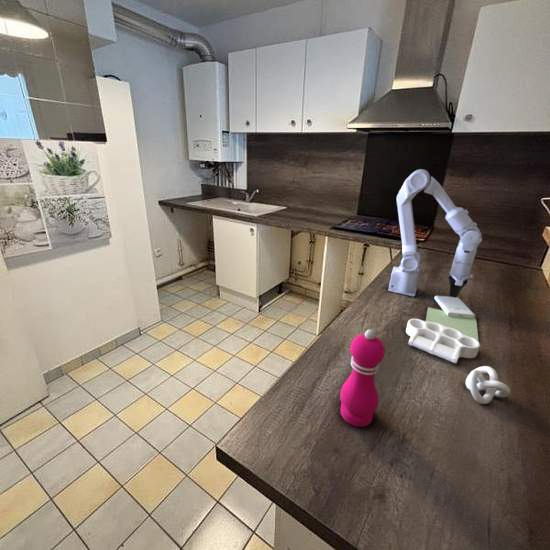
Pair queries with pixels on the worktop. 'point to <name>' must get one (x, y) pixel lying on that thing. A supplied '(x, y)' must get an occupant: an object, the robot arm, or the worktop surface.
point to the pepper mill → (362, 380)
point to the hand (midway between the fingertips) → (453, 296)
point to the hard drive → (454, 307)
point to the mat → (453, 322)
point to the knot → (486, 385)
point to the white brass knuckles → (441, 340)
